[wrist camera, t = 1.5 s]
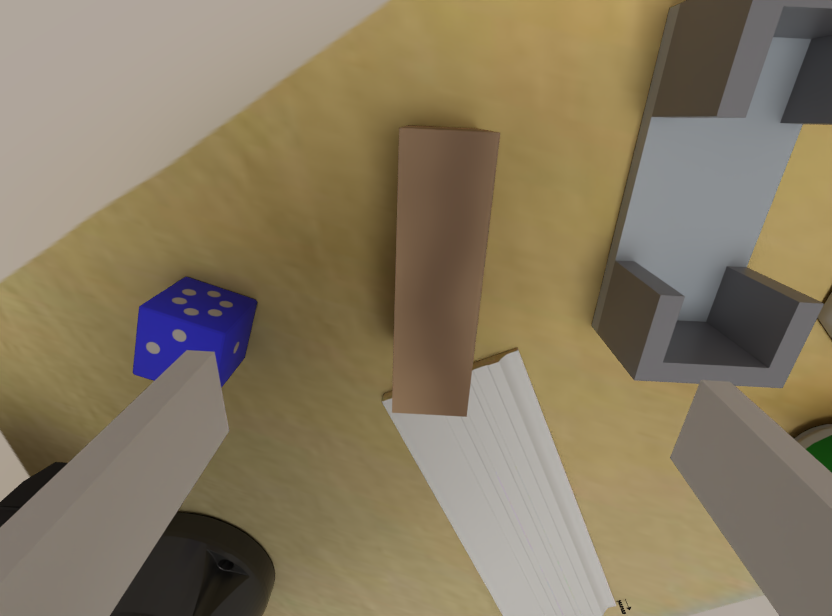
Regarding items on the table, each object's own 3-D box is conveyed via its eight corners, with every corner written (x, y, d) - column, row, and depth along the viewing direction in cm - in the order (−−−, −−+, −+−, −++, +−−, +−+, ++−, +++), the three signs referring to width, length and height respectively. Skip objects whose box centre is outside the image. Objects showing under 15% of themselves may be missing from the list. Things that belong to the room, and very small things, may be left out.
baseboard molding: (535, 336, 30) (383, 389, 32) (545, 357, 27) (379, 413, 29) (627, 592, 41) (510, 618, 43) (641, 625, 38) (515, 650, 41)
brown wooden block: (401, 340, 30) (391, 412, 22) (408, 125, 24) (399, 127, 16) (457, 343, 30) (466, 416, 22) (478, 128, 24) (500, 132, 16)
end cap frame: (591, 325, 28) (634, 380, 23) (669, 8, 21) (763, -36, 15) (709, 332, 28) (782, 388, 22) (829, 15, 21) (986, -26, 15)
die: (245, 358, 30) (212, 399, 26) (176, 336, 30) (131, 375, 25) (258, 299, 29) (226, 333, 24) (185, 275, 28) (137, 305, 23)
